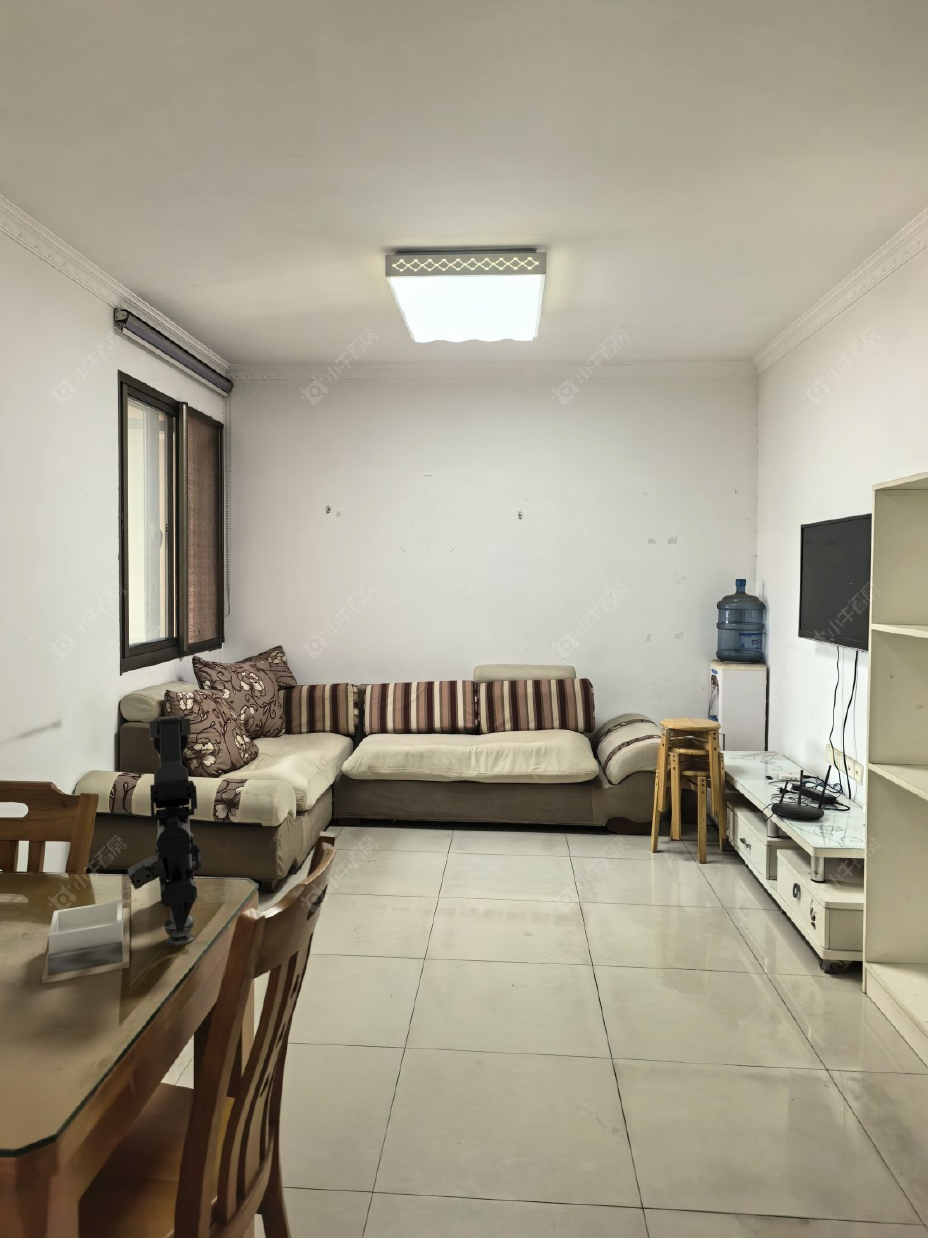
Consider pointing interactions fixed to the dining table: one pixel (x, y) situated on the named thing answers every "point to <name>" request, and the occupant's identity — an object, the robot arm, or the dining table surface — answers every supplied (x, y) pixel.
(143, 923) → the dining table surface
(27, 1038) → the dining table surface
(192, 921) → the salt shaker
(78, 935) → the white tray
